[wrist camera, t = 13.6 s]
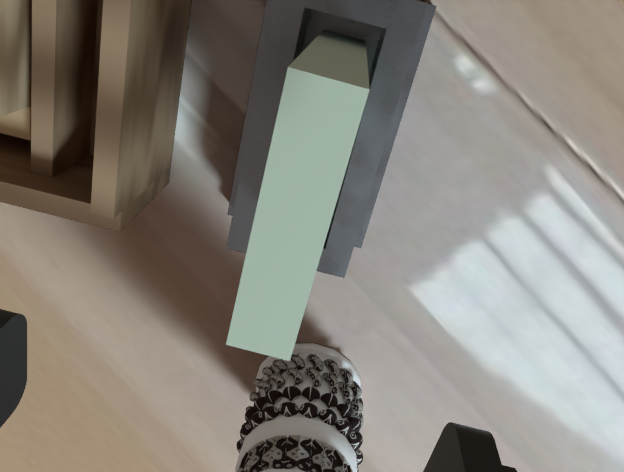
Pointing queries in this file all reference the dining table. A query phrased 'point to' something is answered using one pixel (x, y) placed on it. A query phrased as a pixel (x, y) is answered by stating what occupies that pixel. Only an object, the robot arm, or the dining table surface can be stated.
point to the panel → (299, 191)
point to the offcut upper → (15, 55)
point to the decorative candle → (303, 415)
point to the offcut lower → (18, 116)
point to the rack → (98, 109)
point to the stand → (374, 122)
